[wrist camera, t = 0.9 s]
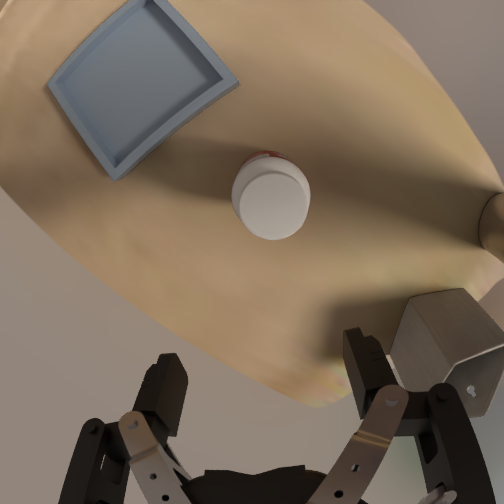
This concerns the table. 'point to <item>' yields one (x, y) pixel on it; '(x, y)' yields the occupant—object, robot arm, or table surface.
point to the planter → (450, 347)
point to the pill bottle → (271, 195)
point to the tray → (138, 83)
